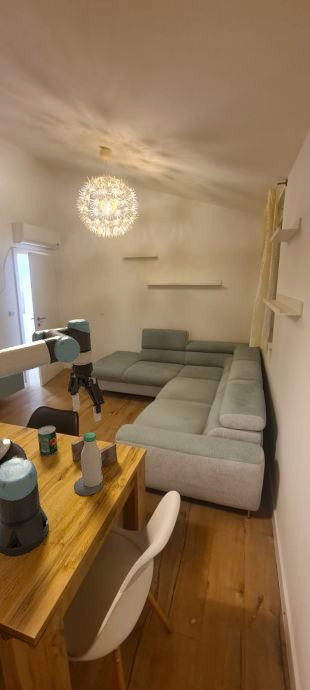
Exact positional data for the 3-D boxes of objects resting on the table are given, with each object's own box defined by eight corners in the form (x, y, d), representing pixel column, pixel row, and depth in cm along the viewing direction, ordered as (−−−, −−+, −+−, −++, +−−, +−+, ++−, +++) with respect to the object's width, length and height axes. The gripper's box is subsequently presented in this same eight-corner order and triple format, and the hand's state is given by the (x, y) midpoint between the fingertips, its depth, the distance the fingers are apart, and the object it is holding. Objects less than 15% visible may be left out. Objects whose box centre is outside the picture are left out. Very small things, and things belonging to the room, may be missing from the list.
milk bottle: (100, 488, 112) (97, 440, 108) (80, 488, 112) (76, 440, 108) (104, 474, 120) (101, 429, 115) (85, 474, 120) (82, 429, 115)
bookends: (95, 474, 121) (94, 456, 119) (72, 459, 131) (71, 443, 129) (116, 460, 130) (116, 443, 128) (94, 447, 140) (93, 432, 138)
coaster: (85, 500, 107) (85, 498, 107) (68, 486, 114) (67, 485, 114) (108, 483, 115) (108, 482, 115) (90, 472, 122) (90, 471, 122)
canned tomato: (39, 449, 139) (36, 427, 137) (56, 444, 143) (54, 424, 140) (40, 458, 132) (38, 435, 130) (58, 453, 136) (56, 431, 133)
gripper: (111, 365, 103) (115, 421, 108) (71, 354, 119) (76, 403, 124) (94, 371, 97) (98, 429, 102) (54, 358, 114) (60, 409, 119)
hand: (86, 415), depth 113 cm, fingers open, 13 cm apart
